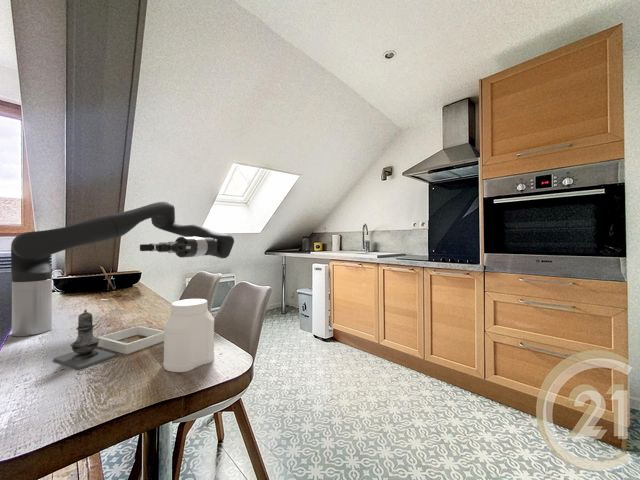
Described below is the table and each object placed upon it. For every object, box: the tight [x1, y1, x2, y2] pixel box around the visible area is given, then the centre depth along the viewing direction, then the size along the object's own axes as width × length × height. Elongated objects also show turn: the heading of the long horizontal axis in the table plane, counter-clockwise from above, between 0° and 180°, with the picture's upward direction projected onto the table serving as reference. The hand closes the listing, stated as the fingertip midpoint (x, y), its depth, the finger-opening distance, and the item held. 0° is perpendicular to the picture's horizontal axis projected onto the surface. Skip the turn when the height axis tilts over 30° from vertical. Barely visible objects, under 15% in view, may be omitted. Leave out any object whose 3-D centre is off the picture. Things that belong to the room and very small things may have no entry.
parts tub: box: [95, 325, 164, 355], centre depth 82 cm, size 14×12×2 cm
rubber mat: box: [53, 347, 117, 370], centre depth 71 cm, size 12×8×1 cm, turn 65°
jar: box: [162, 298, 215, 373], centre depth 70 cm, size 12×10×15 cm
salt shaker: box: [69, 308, 100, 360], centre depth 72 cm, size 6×6×12 cm
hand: (148, 248), depth 89 cm, fingers open, 8 cm apart
